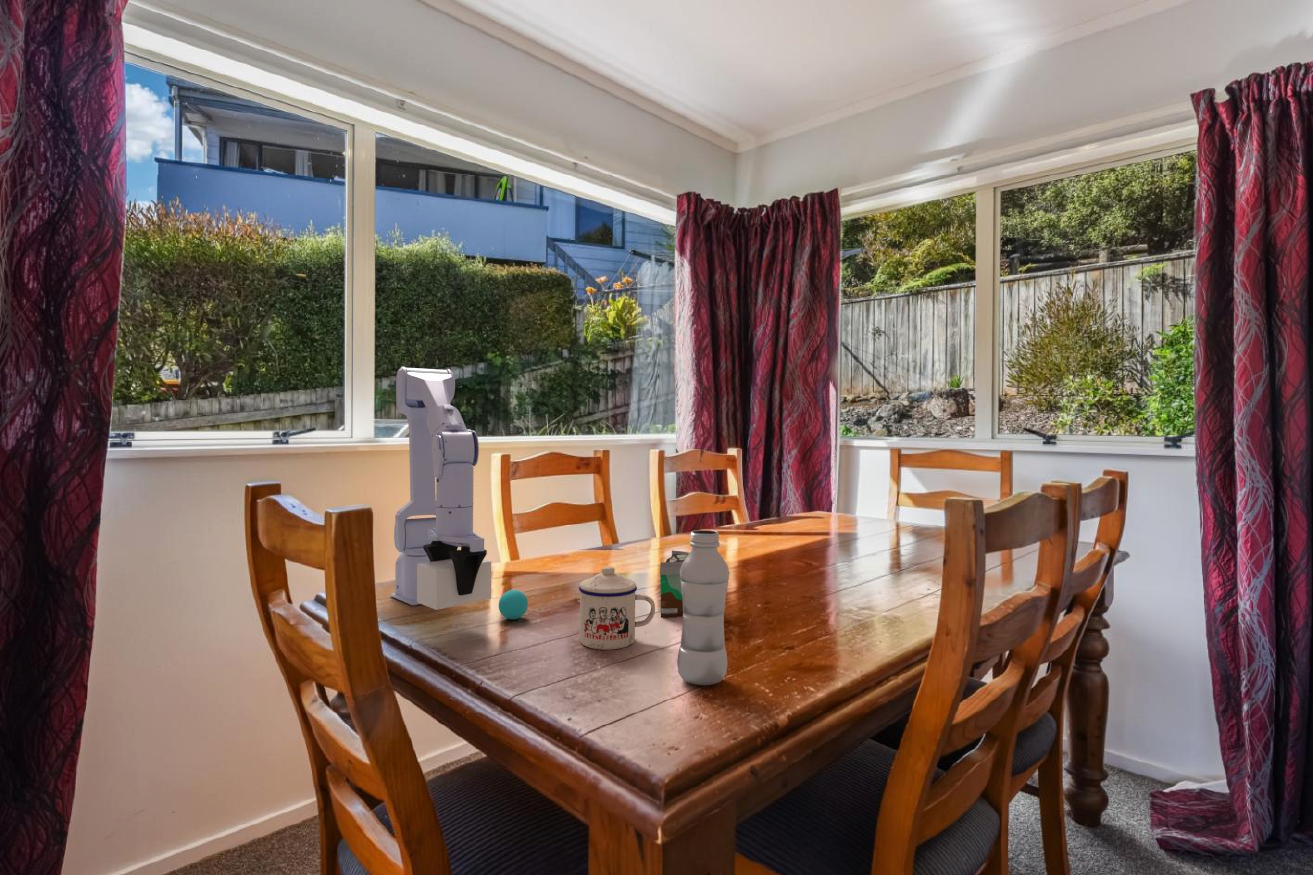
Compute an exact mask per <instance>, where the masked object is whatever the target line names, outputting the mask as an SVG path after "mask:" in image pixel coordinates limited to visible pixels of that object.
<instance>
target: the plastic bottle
mask: <svg viewBox="0 0 1313 875" xmlns="http://www.w3.org/2000/svg"><path fill="white" fill-rule="evenodd" d="M719 535H720V534H719V531H716V530H710V529H709V530H708V529H697V530H696V529H695V530H692V531H690V542H689V546H690V547H692V548H691V550H690V552H688V553H689V554H688V556H687V557H686V559H685V560H684V562H683V563H682V566H681V569H680V579H681V580H680V581H681V589H682V598H683V611H684V613H683V616H682V628H681V635H680V636H681V637H680V645H679V648H678V652H677V659H676V664H677V672H678V674H679V675H680V677H681V679H682V680H683V681H684V682H686V683H687V684H692V685H695V686H696V685H697V686H712V685H716V684H718V683H720V682H722V680H723V679H724V678H725V676H726V674H727V669H728V656H727V655H728V653H727V650H726V644H725V643H726V641H725V640H726V639H725V624H724V621H725V614H724V613H725V608H726V598H727V592H728V586H729V580H730V570H729V566H728V564H727V561H725V558H724V557H723V556H722V555H721V553H720V552H719V551H718V548H719V547H720V540H719V539H720V536H719Z"/></svg>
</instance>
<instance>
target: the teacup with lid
mask: <svg viewBox="0 0 1313 875" xmlns="http://www.w3.org/2000/svg"><path fill="white" fill-rule="evenodd" d="M615 570H616V569H615V567H613V566H604V567H603V566H602V569H601V572H600V573H597V574H595V575H594V576H592V577H591V578H586V579H584V580H582V581H581V582H580V584H579V587H578V591H579V594H580V596H579V597H580V599H579V600H580V601H579V602H580V603H579V606H580V607H579V641H580V643H581V644H582V645H583V646H585V647H587V648H589V649H595V650H603V651H605V650H606V651H607V650H608V651H610V650H619V649H623V648H627V647H629V646H631V645H632V644H634V642H635V640H636V628H640V627H644V626H647V625H648V624H649V623H650V622H651V621H652V620H653V618H654V616H655V613H656V604H655V601H654V599H653V598H652V597H650V596H649V595H647V594H636V592H637V590H638V587H637V586H638V585H637V584H636V582H635V581H634V580H632V579H630V578H626V577H625V576H622V575H621V574H619V573H617V572H616V571H615ZM641 600H642V601H646V602H647V603H648V604H650V611H649V614H648V615H647V617H646V618H644V619H642V620H639V621H636V601H641Z"/></svg>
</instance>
